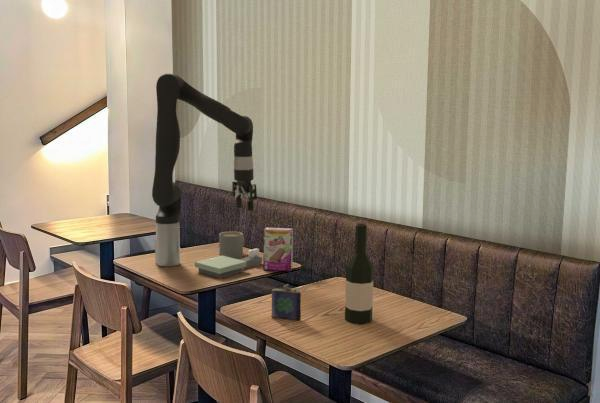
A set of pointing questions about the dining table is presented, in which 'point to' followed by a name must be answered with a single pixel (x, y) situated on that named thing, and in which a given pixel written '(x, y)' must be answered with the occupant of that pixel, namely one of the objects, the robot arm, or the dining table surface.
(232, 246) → the coffee mug
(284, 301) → the flask
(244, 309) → the dining table surface
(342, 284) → the dining table surface
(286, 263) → the candy bar box
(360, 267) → the wine bottle
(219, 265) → the green lidded box
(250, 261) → the grey white knobbed block
